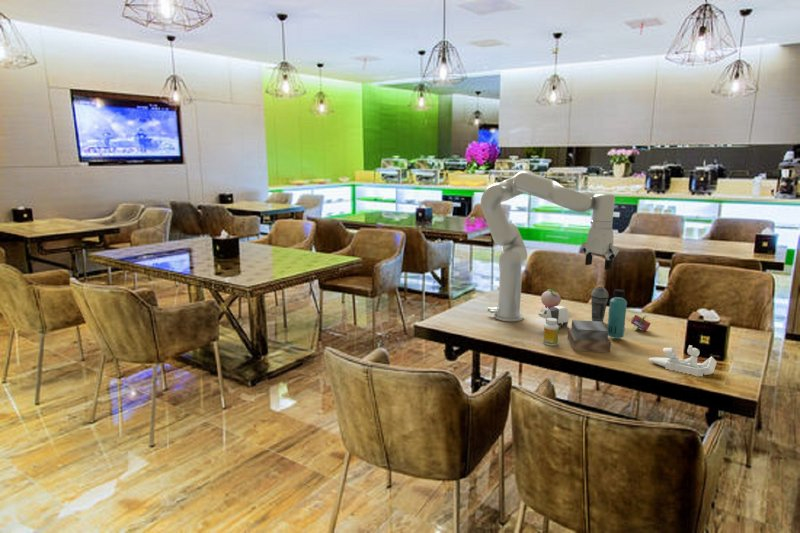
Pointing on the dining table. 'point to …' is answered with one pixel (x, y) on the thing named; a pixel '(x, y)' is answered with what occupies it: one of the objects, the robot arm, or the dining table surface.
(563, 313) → the giant panda
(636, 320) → the geometric puzzle
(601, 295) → the beverage cup
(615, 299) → the beverage bottle
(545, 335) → the supplement bottle
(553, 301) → the decorative fruit
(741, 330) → the dining table surface
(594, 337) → the mottled stone block
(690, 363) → the toy boat
